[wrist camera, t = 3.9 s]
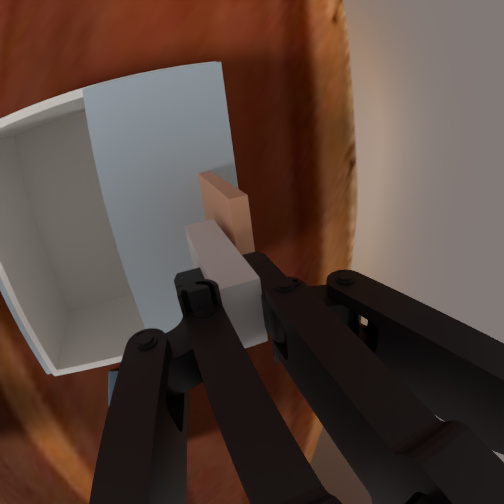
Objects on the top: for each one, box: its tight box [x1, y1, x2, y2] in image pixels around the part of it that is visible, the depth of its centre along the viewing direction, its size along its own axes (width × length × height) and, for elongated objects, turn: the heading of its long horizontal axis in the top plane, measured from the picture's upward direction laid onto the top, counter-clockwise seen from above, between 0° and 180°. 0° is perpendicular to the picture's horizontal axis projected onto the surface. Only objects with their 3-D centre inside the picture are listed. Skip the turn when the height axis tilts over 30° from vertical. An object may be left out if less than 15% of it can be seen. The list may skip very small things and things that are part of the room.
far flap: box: [82, 62, 255, 333], centre depth 17 cm, size 8×20×8 cm, turn 7°
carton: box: [0, 61, 216, 376], centre depth 23 cm, size 19×20×10 cm
